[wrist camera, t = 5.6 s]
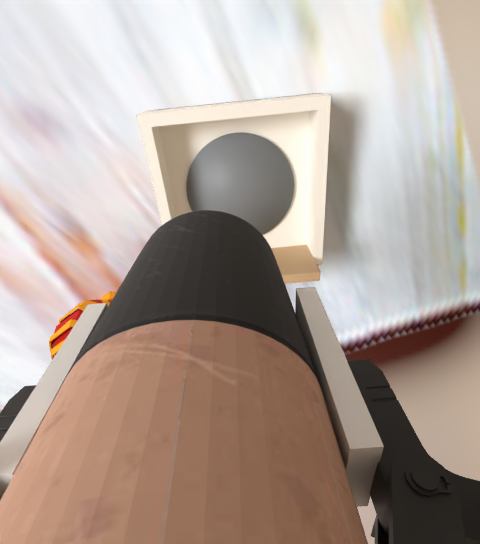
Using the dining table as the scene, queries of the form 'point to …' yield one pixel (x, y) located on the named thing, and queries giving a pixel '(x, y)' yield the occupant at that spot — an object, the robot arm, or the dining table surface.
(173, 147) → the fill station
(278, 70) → the dining table surface
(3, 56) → the dining table surface
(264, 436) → the travel mug
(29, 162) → the dining table surface
